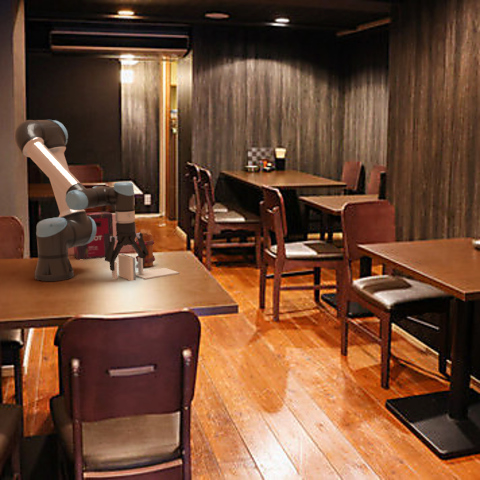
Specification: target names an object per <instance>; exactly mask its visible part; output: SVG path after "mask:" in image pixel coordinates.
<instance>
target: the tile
mask: <svg viewBox="0 0 480 480" xmlns="http://www.w3.org/2000/svg"><path fill="white" fill-rule="evenodd" d="M117 258H118V259H117V260H118V277H121V278H122V279H125V280H129V281H132V282H133V281H136V280H137V277H136V272H137V270H136V257H134V256H130V255H127V254H125V253H119V254H118V256H117Z"/></svg>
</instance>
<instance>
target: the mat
mask: <svg viewBox="0 0 480 480" xmlns="http://www.w3.org/2000/svg"><path fill="white" fill-rule="evenodd" d="M179 274H180V272H179V271H175V270H173V269H170V268H167V267H162V268H155V269H149V270H143V274H139V273H138V271H136V278H139V279H142V280H144V281H145V280H151V279H158V278H162V277H168V276H173V275H179Z"/></svg>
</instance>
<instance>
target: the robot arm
mask: <svg viewBox="0 0 480 480" xmlns="http://www.w3.org/2000/svg"><path fill="white" fill-rule="evenodd" d="M68 133H69V132H68V130H67V128H66V127H65V126H64V124H63V123H62V122H60V121H58V120H56V119H55V120H52V119H34V120H33V119H27V120H23V121H22V122H20V123H19V124H18V125H17V127H16V128H15V130H14V134H13V135H14V138H13V139H14V143H15V145H16V147H17V148H18V150H19V151H20V152H21V154H23V156H24V157H26V158H30V159H31V160H32V162H33V163H35V164H36V166H37V167H38V168H39V169H40V170H41V171H42V172H43V174H45V176H46V177H47V178H48V179H49V182H50V184H51V188H52V191H53V194H54V197H55V201H56V204H57V207H58V212H59V215H58V216H57V217H52V218H46V219H42V220H40V221H38V222H37V224H36V230H35V231H36V232H35V234H36V243H37V257H38V258H37V263H36V267H35V271H34V279H35V280H36V279H37V280H36V281H39V280H41V282H57V281H65V280H69V279H71V278H74V276H75V273H74V269H73V265H72V263H71V261H70V259H69V249H71V248H74V247H76V246H83V245H85V244H88V243H90V242H91V241H92V240H93V239H94V237H95V235H96V224H95V221H94V220H93V219H91V217H89V216H87V214H86V213H87V212H86V209H91V208H97V207H105V206H107V207H108V206H109V207H110V206H111V207H114V210H115V211H114V212H115V214H114V215H115V222H116V223H115V229H116V230H115V232H116V235H115V236H114V235H113V237H112V236H110V237H109V245H108V249H107V253H106V257H105V258H104V261H105V262H107V263H108V262H109V269H110V271H111V275H112V276H111V277H112V279H115V280H117V279H118V266H117V265H118V264H117V262H115V261H116V260H117V258H118V254H120V252H121V251H122V248H123V247H124V246H128V245H129V246H131V247H132V248H133V249H134V251H135V252H136V254H137V256H138V255H139V256H140V257H138V262H137V272H138V273H139V274H143V271H144V267H143V266H144V264H145V262H144V258H146V256H148V255H149V253H148V251H147V248H146V245H145V243H144V240H143V234H142V233H140V231H139V232H137V233H136V222H135V220H136V216H135V215H136V214H135V213H136V212H135V189H134V184H133V183H132V182H130V181H119V182H115V183H114V184H113V186H102V185H100V186H99V185H96V186H93V187H92V188H86V187H85V186H84V185H83V184H82V183H81V182H80V181H79V180H78V179H77V178H76V177H75V175H74V174H73V173H72V172H71V171H70V169H69V166H68V163H67V160H66V157H65V151H66V149H67V147H66V145H67V144H68V139H69V134H68ZM135 239H136V240H138V242H139V244H140V247H141V250H142V251H141V250H140V248H139V247H138V245H137V243H136V240H135ZM116 241H117V242H116ZM113 249H114V251H113Z"/></svg>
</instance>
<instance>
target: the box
mask: <svg viewBox="0 0 480 480" xmlns="http://www.w3.org/2000/svg"><path fill="white" fill-rule="evenodd" d="M86 214H87V216H89V217H91V219H93V220H94V221H95V224H96V235H95V237H94V239H93V240H92V241H91V242H90V243H88V244H85V245H83V246H76V247H73V256H74V258H75V257H76V258H77V259H76V258H75V259H76V260H77V261H79V260H80V259H83V260H90V259H91V260H92V259H102V258H104V259H105V257H106V253H107V249H108V245H109V237H110V236H112V237H114V226H113V224H114V223H113V220H114V219H113V213H111V212H110V211H97V212H96V211H95V212H94V211H93V212H86ZM114 249H115V248H114ZM114 249H113V251H114ZM80 261H81V260H80Z"/></svg>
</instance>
